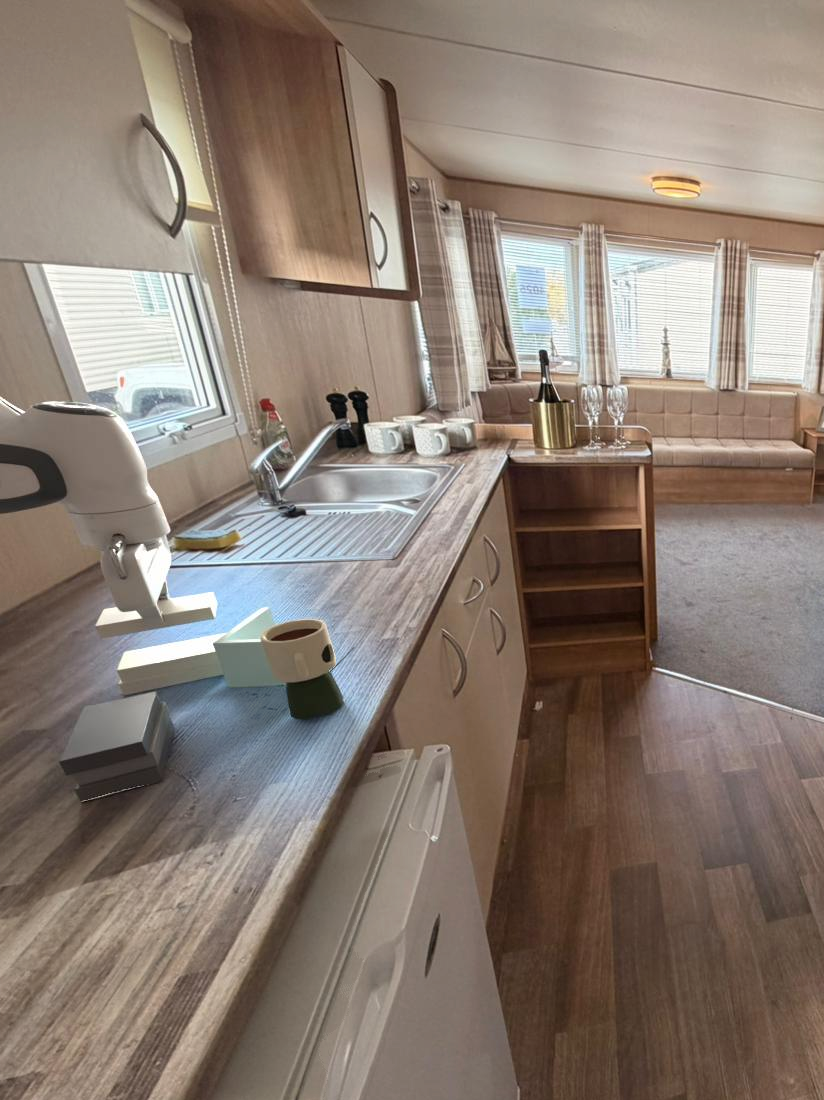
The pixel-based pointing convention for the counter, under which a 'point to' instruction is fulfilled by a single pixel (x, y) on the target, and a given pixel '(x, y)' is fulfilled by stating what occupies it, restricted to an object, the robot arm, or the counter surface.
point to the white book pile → (168, 665)
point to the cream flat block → (172, 610)
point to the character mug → (304, 666)
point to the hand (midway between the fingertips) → (160, 615)
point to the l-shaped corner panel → (246, 652)
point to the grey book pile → (119, 745)
